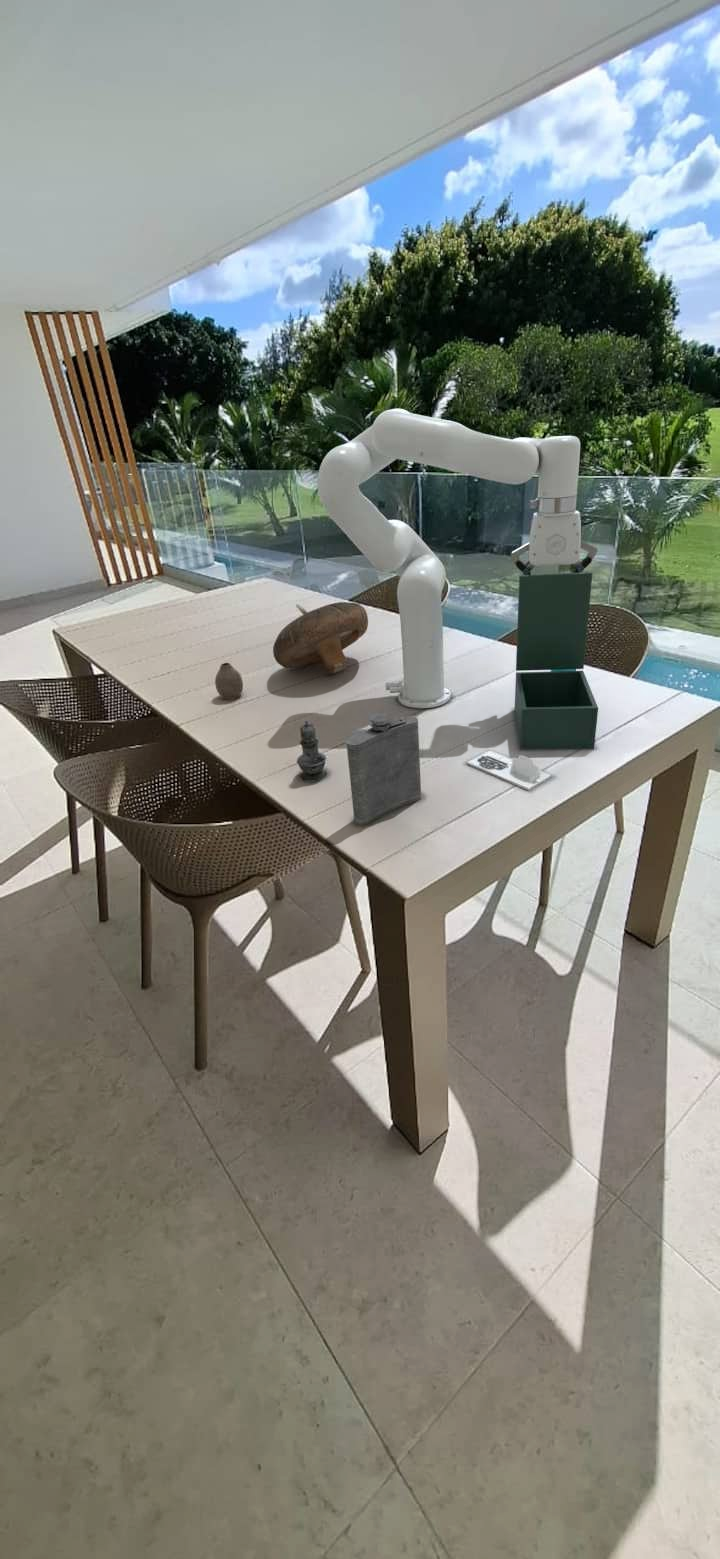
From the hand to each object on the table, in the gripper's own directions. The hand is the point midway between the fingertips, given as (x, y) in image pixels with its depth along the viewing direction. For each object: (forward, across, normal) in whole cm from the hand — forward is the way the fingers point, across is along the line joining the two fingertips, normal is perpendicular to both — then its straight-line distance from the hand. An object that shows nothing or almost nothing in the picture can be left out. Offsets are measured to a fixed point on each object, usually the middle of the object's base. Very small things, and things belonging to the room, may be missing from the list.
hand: (551, 591), depth 143 cm
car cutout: (+25, -10, -33) cm, 43 cm away
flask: (+25, -32, -47) cm, 62 cm away
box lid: (+6, 0, -5) cm, 8 cm away
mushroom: (+25, -56, +23) cm, 66 cm away
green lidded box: (+25, 0, -15) cm, 29 cm away
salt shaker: (+25, -48, -35) cm, 64 cm away
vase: (+25, -78, +6) cm, 82 cm away
